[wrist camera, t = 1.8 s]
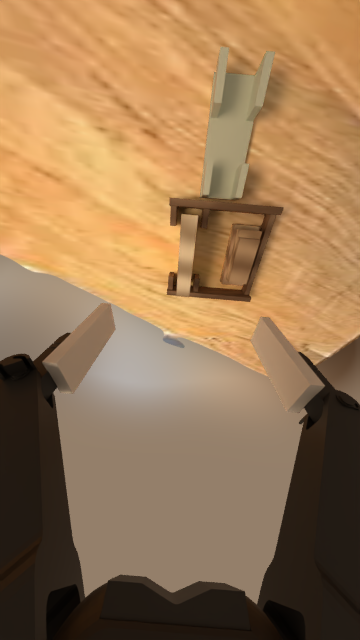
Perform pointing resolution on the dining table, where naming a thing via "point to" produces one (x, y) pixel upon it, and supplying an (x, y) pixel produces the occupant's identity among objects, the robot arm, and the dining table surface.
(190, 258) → the plywood sheet
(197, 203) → the rack
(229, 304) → the dining table surface
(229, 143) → the display stand
